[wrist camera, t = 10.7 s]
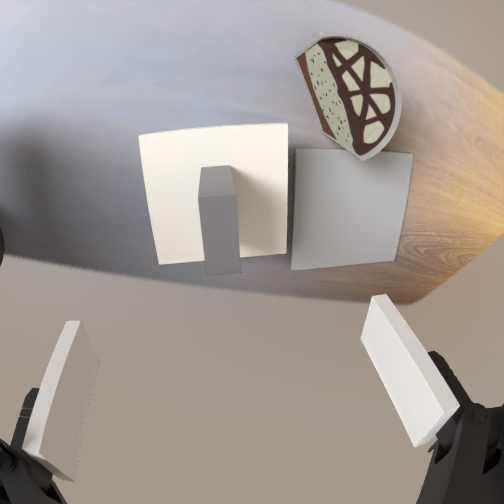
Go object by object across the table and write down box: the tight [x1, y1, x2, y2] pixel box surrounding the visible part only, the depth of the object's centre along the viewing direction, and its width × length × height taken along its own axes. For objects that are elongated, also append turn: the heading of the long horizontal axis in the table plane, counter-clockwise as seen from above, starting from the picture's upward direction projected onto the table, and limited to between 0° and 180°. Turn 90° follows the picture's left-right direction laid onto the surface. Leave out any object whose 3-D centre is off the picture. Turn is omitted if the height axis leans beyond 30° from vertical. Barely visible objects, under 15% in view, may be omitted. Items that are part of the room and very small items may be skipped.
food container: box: [294, 33, 402, 162], centre depth 26 cm, size 12×6×10 cm, turn 22°
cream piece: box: [138, 123, 288, 276], centre depth 25 cm, size 13×13×9 cm
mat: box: [291, 148, 414, 271], centre depth 38 cm, size 16×16×1 cm
